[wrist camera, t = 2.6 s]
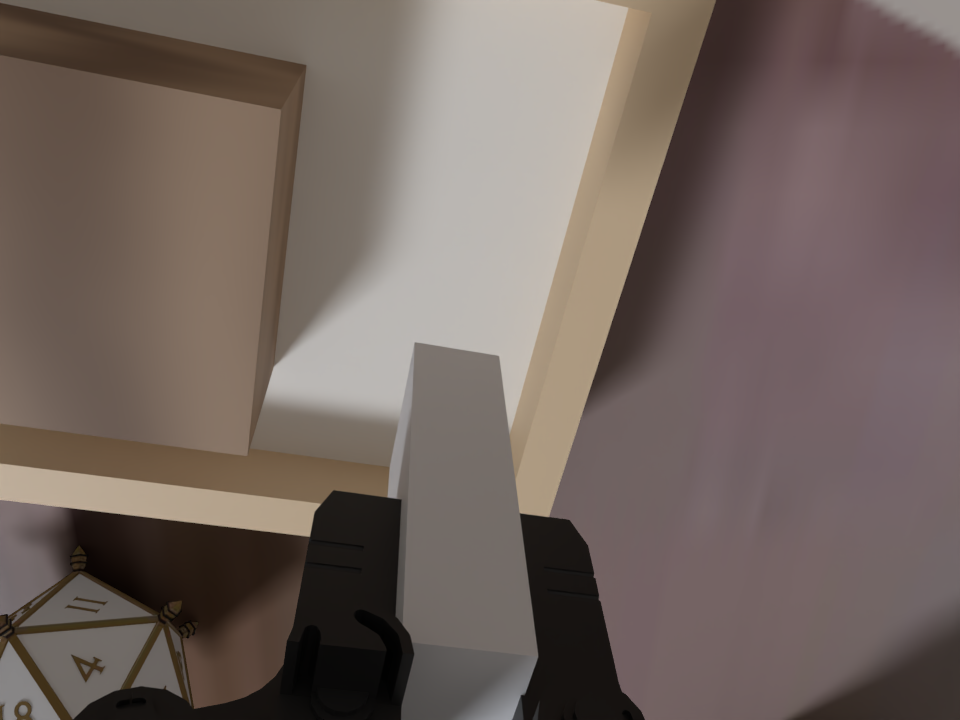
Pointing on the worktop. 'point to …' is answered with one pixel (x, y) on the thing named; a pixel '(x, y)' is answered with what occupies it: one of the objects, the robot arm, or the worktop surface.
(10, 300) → the walnut block
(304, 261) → the deck
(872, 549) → the worktop surface
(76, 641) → the game die
